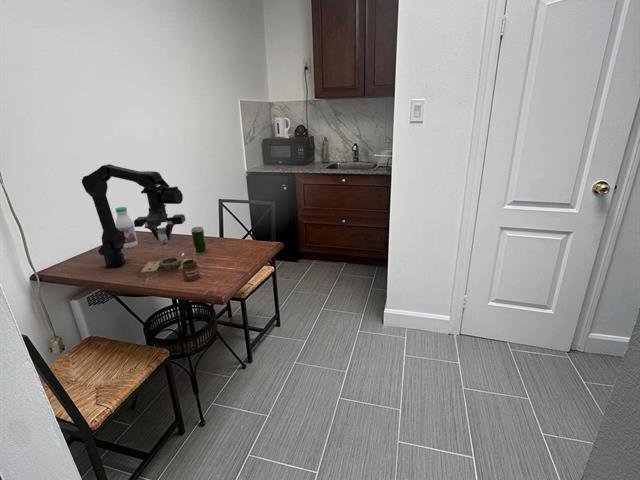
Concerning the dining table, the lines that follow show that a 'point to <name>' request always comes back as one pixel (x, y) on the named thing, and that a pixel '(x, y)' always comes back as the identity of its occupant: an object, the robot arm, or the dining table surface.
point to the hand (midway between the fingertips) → (164, 240)
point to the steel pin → (162, 236)
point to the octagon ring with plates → (165, 264)
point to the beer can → (199, 240)
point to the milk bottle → (126, 227)
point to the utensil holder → (190, 269)
